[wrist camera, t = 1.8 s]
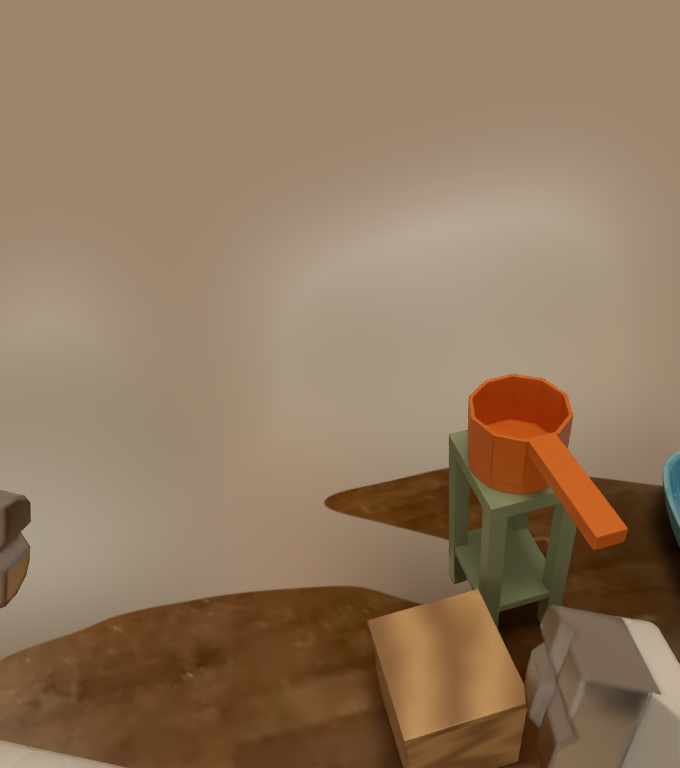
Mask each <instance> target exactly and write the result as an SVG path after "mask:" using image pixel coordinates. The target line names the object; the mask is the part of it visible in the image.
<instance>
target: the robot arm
mask: <svg viewBox="0 0 680 768" xmlns="http://www.w3.org/2000/svg"><path fill="white" fill-rule="evenodd" d="M30 522H31V518H30V502H29V501H28V499H27V498H26V497H25V496H24V495H19V494H15V493H10V492H6V491H1V490H0V608H2V607H5V606H6V605H7V604H8V603H9V602H10V601H11V599H12V598H13V597H14V596H15V595H16V594H17V592H18V590H19V588H20V586H21V584H22V582H23V581H24V578H25V577H26V573H27V569H28V565H29V560H30V546H29V544H28V543H27V541H26V539H25V538H24V536H23V535H22V533H21V531H22V530H23V529H24V528H25V527H26V526H27V525H28V524H29V523H30ZM540 629H541V633H542V636H543V639H544V642H543V643H542V644H541V645H539V646H538V647H536V648H535V649H533V650H532V652H531V655H530V658H529V662H528V665H527V669H526V678H525V702H526V707H527V712H528V716H529V718H530V719H531V720H532V721H533V722H534V723H535V724H536V725H537V727H538V728H539V732H538V735H537V738H536V741H535V745H536V749H537V753H538V757H539V761H540V766H541V768H680V664H679V663H678V661H677V659H676V658H675V656H674V654H673V652H672V651H671V649H670V647H669V646H668V644H667V642H666V641H665V639H664V637H663V635H662V634H661V632H660V630H659V629H658V627H657V626H655V625H654V624H653V623H651V622H649V621H643V620H637V619H631V618H625V617H619V616H617V617H616V616H611V615H605V614H600V613H594V612H589V611H583V610H578V609H572V608H567V607H561V606H556V605H549V607H548V608H547V610H546V611H545V613H544V616H543V618H542V621H541V624H540ZM0 768H126V767H122V766H117V765H113V764H108V763H104V762H99V761H94V760H90V759H85V758H81V757H76V756H71V755H67V754H62V753H58V752H53V751H48V750H44V749H39V748H35V747H30V746H26V745H21V744H16V743H12V742H7V741H3V740H0Z"/></svg>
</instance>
